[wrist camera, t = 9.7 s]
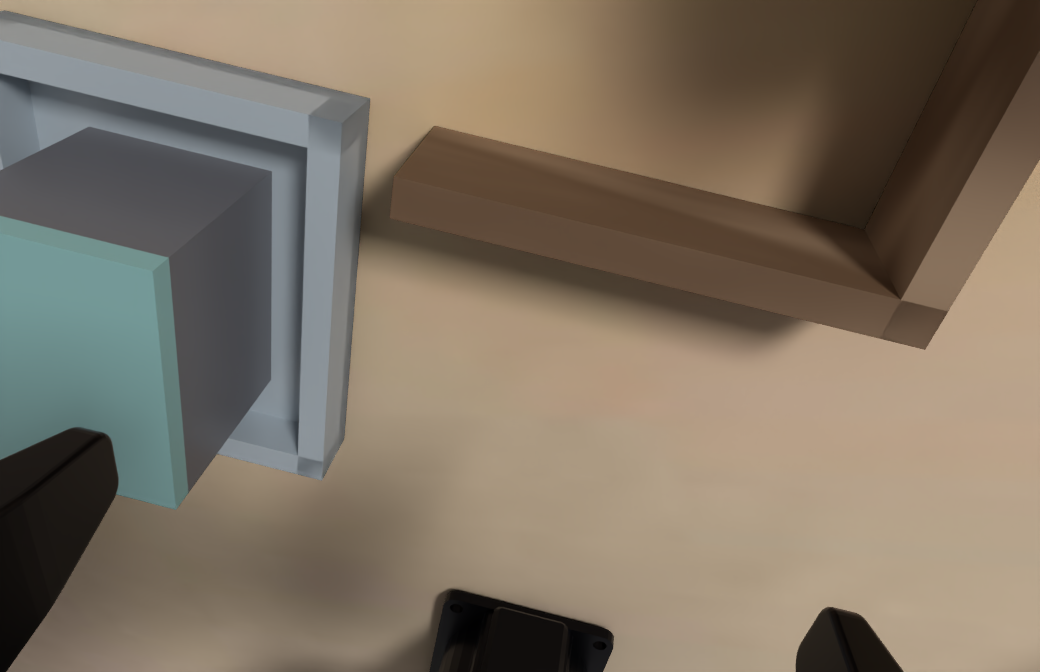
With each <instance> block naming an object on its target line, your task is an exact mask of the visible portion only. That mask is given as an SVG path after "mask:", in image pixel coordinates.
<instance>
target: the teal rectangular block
mask: <svg viewBox="0 0 1040 672" xmlns="http://www.w3.org/2000/svg"><path fill="white" fill-rule="evenodd" d="M271 291H272V171H269V170H265V169H261V168H257V167H253V166H249V165H244V164H240V163H236V162H232V161H228V160H224V159H220V158H216V157H212V156H208V155H204V154H199V153H195V152H191V151H187V150H183V149H179V148H175V147H171V146H167V145H163V144H159V143H154V142H150V141H146V140H142V139H138V138H134V137H130V136H126V135H122V134H118V133H113V132H109V131H105V130H101V129H97V128H93V127H87V128H85V129H83V130H81V131H79V132H77V133H75V134H73V135H71V136H69V137H67V138H65V139H63V140H61V141H59V142H57V143H55V144H53V145H51V146H49V147H46V148H44V149H42V150H40V151H38V152H36V153H34V154H32V155H30V156H28V157H26V158H24V159H22V160H20V161H18V162H16V163H14V164H12V165H10V166H8V167H6V168H4V169H2V170H0V459H3V458H5V457H7V456H9V455H12V454H14V453H16V452H18V451H20V450H23V449H25V448H27V447H29V446H31V445H34V444H36V443H38V442H40V441H43V440H45V439H47V438H49V437H51V436H54V435H56V434H58V433H60V432H62V431H65V430H67V429H70V428H73V427H83V428H87V429H91V430H95V431H100V432H104V433H106V434H107V435H108V436H109V437H110V438H111V440H112V444H113V450H114V455H115V461H116V466H117V471H118V477H119V484H118V489H117V493H116V494H117V495H121V496H124V497H128V498H132V499H136V500H140V501H144V502H148V503H152V504H156V505H159V506H163V507H167V508H171V509H175V510H176V509H177V508H178V506H179V505H180V504H181V502H182V501H183V499H184V498H185V497H186V495H187V494H188V493H189V491H190V490H191V489H192V487H193V486H194V484H195V483H196V482H197V480H198V479H199V478H200V476H201V475H202V474H203V472H204V471H205V469H206V468H207V467H208V465H209V464H210V463H211V461H212V460H213V458H214V457H215V456H216V454H217V453H218V452H219V450H220V449H221V448H222V446H223V445H224V443H225V442H226V441H227V439H228V438H229V437H230V435H231V434H232V433H233V431H234V430H235V428H236V427H237V426H238V424H239V423H240V422H241V420H242V419H243V417H244V416H245V415H246V413H247V412H248V411H249V409H250V408H251V407H252V405H253V404H254V402H255V401H256V400H257V398H258V397H259V396H260V394H261V393H262V392H263V390H264V389H265V387H266V386H267V385H268V383H269V382H270V381H271Z"/></svg>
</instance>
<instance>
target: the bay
mask: <svg viewBox="0 0 1040 672" xmlns="http://www.w3.org/2000/svg"><path fill="white" fill-rule="evenodd" d="M1039 160H1040V0H978V1H977V3H976V5H975V7H974V9H973V11H972V13H971V15H970V17H969V19H968V21H967V23H966V25H965V27H964V29H963V31H962V33H961V35H960V37H959V39H958V41H957V43H956V45H955V47H954V49H953V51H952V53H951V55H950V57H949V59H948V61H947V63H946V65H945V68H944V70H943V72H942V74H941V76H940V78H939V80H938V82H937V84H936V86H935V88H934V90H933V92H932V94H931V96H930V98H929V100H928V102H927V104H926V106H925V108H924V110H923V112H922V114H921V116H920V118H919V120H918V122H917V124H916V126H915V128H914V130H913V132H912V134H911V136H910V138H909V141H908V143H907V145H906V147H905V149H904V151H903V153H902V155H901V157H900V159H899V161H898V163H897V165H896V167H895V169H894V171H893V173H892V175H891V177H890V179H889V181H888V183H887V185H886V187H885V189H884V191H883V193H882V195H881V197H880V199H879V201H878V203H877V205H876V207H875V209H874V211H873V214H872V216H871V218H870V220H869V222H868V224H867V226H866V228H865V230H864V229H860V228H856V227H852V226H847V225H843V224H839V223H835V222H831V221H827V220H823V219H818V218H814V217H810V216H806V215H802V214H798V213H794V212H789V211H785V210H781V209H777V208H773V207H769V206H765V205H760V204H756V203H752V202H748V201H744V200H740V199H735V198H731V197H727V196H723V195H719V194H715V193H711V192H706V191H702V190H698V189H694V188H690V187H686V186H682V185H677V184H673V183H669V182H665V181H661V180H657V179H653V178H648V177H644V176H640V175H636V174H632V173H628V172H624V171H619V170H615V169H611V168H607V167H603V166H599V165H595V164H590V163H586V162H582V161H578V160H574V159H570V158H566V157H561V156H557V155H553V154H549V153H545V152H541V151H537V150H532V149H528V148H524V147H520V146H516V145H512V144H507V143H503V142H499V141H495V140H491V139H487V138H483V137H478V136H474V135H470V134H466V133H462V132H458V131H454V130H449V129H445V128H441V127H437V126H434V127H433V129H432V130H431V131H430V132H429V133H428V135H427V136H426V137H425V138H424V140H423V141H422V142H421V143H420V145H419V146H418V147H417V148H416V150H415V151H414V152H413V153H412V154H411V156H410V157H409V158H408V159H407V161H406V162H405V163H404V164H403V166H402V167H401V168H400V169H399V171H398V172H397V173H396V174H395V175H394V179H393V189H392V199H391V209H390V219H394V220H398V221H402V222H406V223H410V224H414V225H418V226H423V227H427V228H431V229H435V230H439V231H443V232H447V233H451V234H455V235H459V236H463V237H467V238H472V239H476V240H480V241H484V242H488V243H492V244H496V245H500V246H504V247H508V248H512V249H516V250H521V251H525V252H529V253H533V254H537V255H541V256H545V257H549V258H553V259H557V260H561V261H565V262H569V263H574V264H578V265H582V266H586V267H590V268H594V269H598V270H602V271H606V272H610V273H614V274H618V275H623V276H627V277H631V278H635V279H639V280H643V281H647V282H651V283H655V284H659V285H663V286H667V287H671V288H676V289H680V290H684V291H688V292H692V293H696V294H700V295H704V296H708V297H712V298H716V299H720V300H725V301H729V302H733V303H737V304H741V305H745V306H749V307H753V308H757V309H761V310H765V311H769V312H774V313H778V314H782V315H786V316H790V317H794V318H798V319H802V320H806V321H810V322H814V323H818V324H822V325H827V326H831V327H835V328H839V329H843V330H847V331H851V332H855V333H859V334H863V335H867V336H871V337H876V338H880V339H884V340H888V341H892V342H896V343H900V344H904V345H908V346H912V347H916V348H920V349H924V350H925V349H926V347H927V346H928V344H929V342H930V341H931V339H932V337H933V336H934V334H935V332H936V331H937V329H938V327H939V326H940V324H941V322H942V321H943V319H944V317H945V316H946V314H947V312H948V311H949V309H950V307H951V306H952V304H953V302H954V301H955V299H956V297H957V296H958V294H959V293H960V291H961V289H962V288H963V286H964V284H965V283H966V281H967V279H968V278H969V276H970V274H971V273H972V271H973V269H974V268H975V266H976V264H977V263H978V261H979V259H980V258H981V256H982V254H983V253H984V251H985V249H986V248H987V246H988V244H989V243H990V241H991V239H992V238H993V236H994V234H995V233H996V231H997V229H998V228H999V226H1000V224H1001V223H1002V221H1003V220H1004V218H1005V216H1006V215H1007V213H1008V211H1009V210H1010V208H1011V206H1012V205H1013V203H1014V201H1015V200H1016V198H1017V196H1018V195H1019V193H1020V191H1021V190H1022V188H1023V186H1024V185H1025V183H1026V181H1027V180H1028V178H1029V176H1030V175H1031V173H1032V171H1033V170H1034V168H1035V166H1036V165H1037V163H1038V161H1039Z"/></svg>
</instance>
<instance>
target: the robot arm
mask: <svg viewBox="0 0 1040 672" xmlns="http://www.w3.org/2000/svg"><path fill="white" fill-rule="evenodd" d="M118 484H119V477H118V471H117V466H116V461H115V455H114V450H113V444H112V440H111V438H110V437H109V436H108V435H107V434H106V433H104V432H100V431H95V430H91V429H87V428H83V427H73V428H70V429H67V430H65V431H62V432H60V433H58V434H56V435H54V436H51V437H49V438H47V439H45V440H43V441H40V442H38V443H36V444H34V445H31V446H29V447H27V448H25V449H23V450H20V451H18V452H16V453H14V454H12V455H9V456H7V457H5V458H3V459H0V672H6V671H7V670H8V668H9V667H10V666H11V664H12V663H13V661H14V660H15V659H16V657H17V656H18V654H19V653H20V652H21V650H22V649H23V647H24V646H25V644H26V643H27V642H28V640H29V639H30V637H31V636H32V635H33V633H34V632H35V630H36V629H37V628H38V626H39V625H40V623H41V622H42V621H43V619H44V618H45V616H46V615H47V613H48V612H49V610H50V609H51V607H52V606H53V604H54V603H55V601H56V599H57V598H58V596H59V594H60V593H61V591H62V589H63V588H64V586H65V584H66V582H67V581H68V579H69V577H70V575H71V574H72V572H73V570H74V568H75V567H76V565H77V563H78V561H79V560H80V558H81V556H82V554H83V552H84V551H85V549H86V547H87V545H88V544H89V542H90V540H91V538H92V537H93V535H94V533H95V531H96V530H97V528H98V526H99V524H100V523H101V521H102V519H103V517H104V516H105V514H106V512H107V510H108V508H109V507H110V505H111V503H112V501H113V500H114V498H115V495H116V493H117V489H118ZM613 640H614V636H613V634H612V633H611V632H610V631H609V630H607V629H604V628H600V627H596V626H593V625H589V624H585V623H581V622H577V621H573V620H569V619H565V618H562V617H558V616H554V615H550V614H546V613H542V612H538V611H534V610H531V609H527V608H523V607H519V606H515V605H511V604H507V603H503V602H500V601H496V600H492V599H488V598H484V597H480V596H476V595H473V594H469V593H465V592H461V591H451V592H449V593H448V594H447V596H446V598H445V602H444V605H443V610H442V615H441V620H440V624H439V629H438V634H437V639H436V643H435V648H434V653H433V658H432V662H431V667H430V672H603V670H604V668H605V666H606V664H607V661H608V659H609V657H610V654H611V652H612V650H613ZM796 672H904V671H903V670H902V669H901V667H900V666H899V665H898V663H897V662H896V661H895V659H894V658H893V656H892V655H891V654H890V652H889V651H888V650H887V648H886V647H885V646H884V644H883V643H882V641H881V640H880V639H879V637H878V636H877V635H876V633H875V632H874V631H873V629H872V628H871V626H870V625H869V624H868V622H867V621H866V620H865V619H864V618H863V617H862V616H861V615H859V614H857V613H854V612H850V611H846V610H842V609H838V608H834V607H827V608H825V609H823V610H822V611H821V612H820V614H819V615H818V617H817V618H816V620H815V621H814V623H813V625H812V626H811V628H810V629H809V631H808V633H807V634H806V636H805V637H804V639H803V641H802V642H801V644H800V646H799V649H798V652H797V657H796Z"/></svg>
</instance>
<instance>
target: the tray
mask: <svg viewBox="0 0 1040 672" xmlns="http://www.w3.org/2000/svg"><path fill="white" fill-rule="evenodd" d="M369 109H370V98H366V97H362V96H358V95H354V94H350V93H345V92H341V91H337V90H333V89H329V88H325V87H320V86H316V85H312V84H308V83H304V82H300V81H296V80H291V79H287V78H283V77H279V76H275V75H271V74H266V73H262V72H258V71H254V70H250V69H246V68H242V67H237V66H233V65H229V64H225V63H221V62H217V61H213V60H208V59H204V58H200V57H196V56H192V55H188V54H183V53H179V52H175V51H171V50H167V49H163V48H159V47H154V46H150V45H146V44H142V43H138V42H134V41H129V40H125V39H121V38H117V37H113V36H109V35H105V34H100V33H96V32H92V31H88V30H84V29H80V28H75V27H71V26H67V25H63V24H59V23H55V22H51V21H46V20H42V19H38V18H34V17H30V16H26V15H21V14H17V13H13V12H9V11H5V10H4V11H0V170H2V169H4V168H6V167H8V166H10V165H12V164H14V163H16V162H18V161H20V160H22V159H24V158H26V157H28V156H30V155H32V154H34V153H36V152H38V151H40V150H42V149H44V148H46V147H49V146H51V145H53V144H55V143H57V142H59V141H61V140H63V139H65V138H67V137H69V136H71V135H73V134H75V133H77V132H79V131H81V130H83V129H85V128H87V127H93V128H97V129H101V130H105V131H109V132H113V133H118V134H122V135H126V136H130V137H134V138H138V139H142V140H146V141H150V142H154V143H159V144H163V145H167V146H171V147H175V148H179V149H183V150H187V151H191V152H195V153H199V154H204V155H208V156H212V157H216V158H220V159H224V160H228V161H232V162H236V163H240V164H244V165H249V166H253V167H257V168H261V169H265V170H269V171H272V291H271V381H270V382H269V383H268V385H267V386H266V387H265V389H264V390H263V392H262V393H261V394H260V396H259V397H258V398H257V400H256V401H255V402H254V404H253V405H252V407H251V408H250V409H249V411H248V412H247V413H246V415H245V416H244V417H243V419H242V420H241V422H240V423H239V424H238V426H237V427H236V428H235V430H234V431H233V433H232V434H231V435H230V437H229V438H228V439H227V441H226V442H225V443H224V445H223V446H222V448H221V449H220V450H219V452H218V453H217V454H220V455H224V456H228V457H232V458H236V459H240V460H244V461H247V462H251V463H255V464H259V465H263V466H267V467H271V468H275V469H279V470H283V471H287V472H290V473H294V474H298V475H302V476H306V477H310V478H314V479H318V480H322V479H323V478H324V476H325V474H326V472H327V470H328V468H329V466H330V464H331V463H332V461H333V459H334V457H335V455H336V453H337V451H338V450H339V448H340V446H341V444H342V442H343V440H344V434H345V421H346V408H347V395H348V382H349V369H350V356H351V343H352V330H353V317H354V304H355V291H356V278H357V265H358V252H359V239H360V226H361V213H362V200H363V187H364V174H365V161H366V148H367V135H368V122H369Z"/></svg>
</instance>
